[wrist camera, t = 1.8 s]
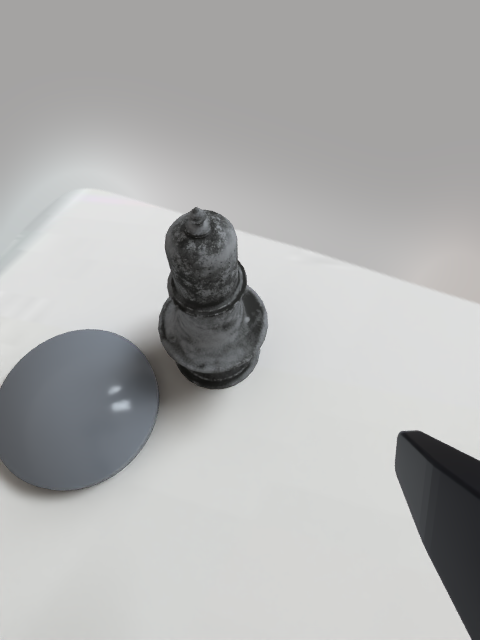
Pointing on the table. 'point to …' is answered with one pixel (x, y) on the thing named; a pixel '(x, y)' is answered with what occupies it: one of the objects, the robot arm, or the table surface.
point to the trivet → (77, 410)
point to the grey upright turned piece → (210, 303)
